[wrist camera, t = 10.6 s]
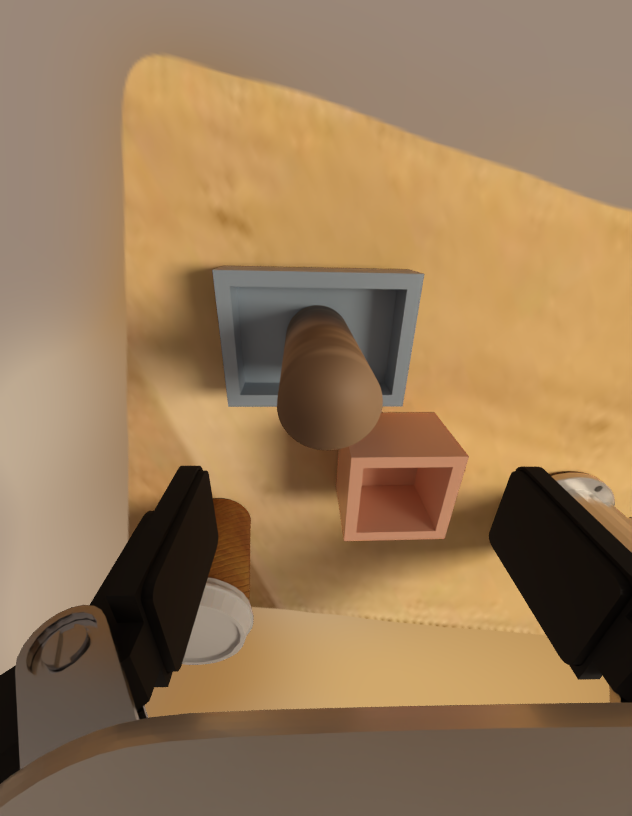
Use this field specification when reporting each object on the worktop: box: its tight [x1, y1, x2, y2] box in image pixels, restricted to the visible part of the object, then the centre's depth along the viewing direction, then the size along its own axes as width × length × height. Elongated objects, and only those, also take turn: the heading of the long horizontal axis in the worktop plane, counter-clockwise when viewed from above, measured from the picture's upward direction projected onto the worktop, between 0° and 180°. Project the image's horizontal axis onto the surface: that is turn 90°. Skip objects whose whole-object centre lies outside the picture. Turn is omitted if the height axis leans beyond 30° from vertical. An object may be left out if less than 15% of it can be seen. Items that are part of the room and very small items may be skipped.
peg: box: [277, 305, 383, 450], centre depth 21 cm, size 5×5×12 cm
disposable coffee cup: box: [182, 499, 253, 665], centre depth 31 cm, size 10×10×12 cm
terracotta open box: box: [336, 413, 469, 541], centre depth 30 cm, size 9×9×7 cm
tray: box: [212, 266, 424, 407], centre depth 25 cm, size 14×10×4 cm
